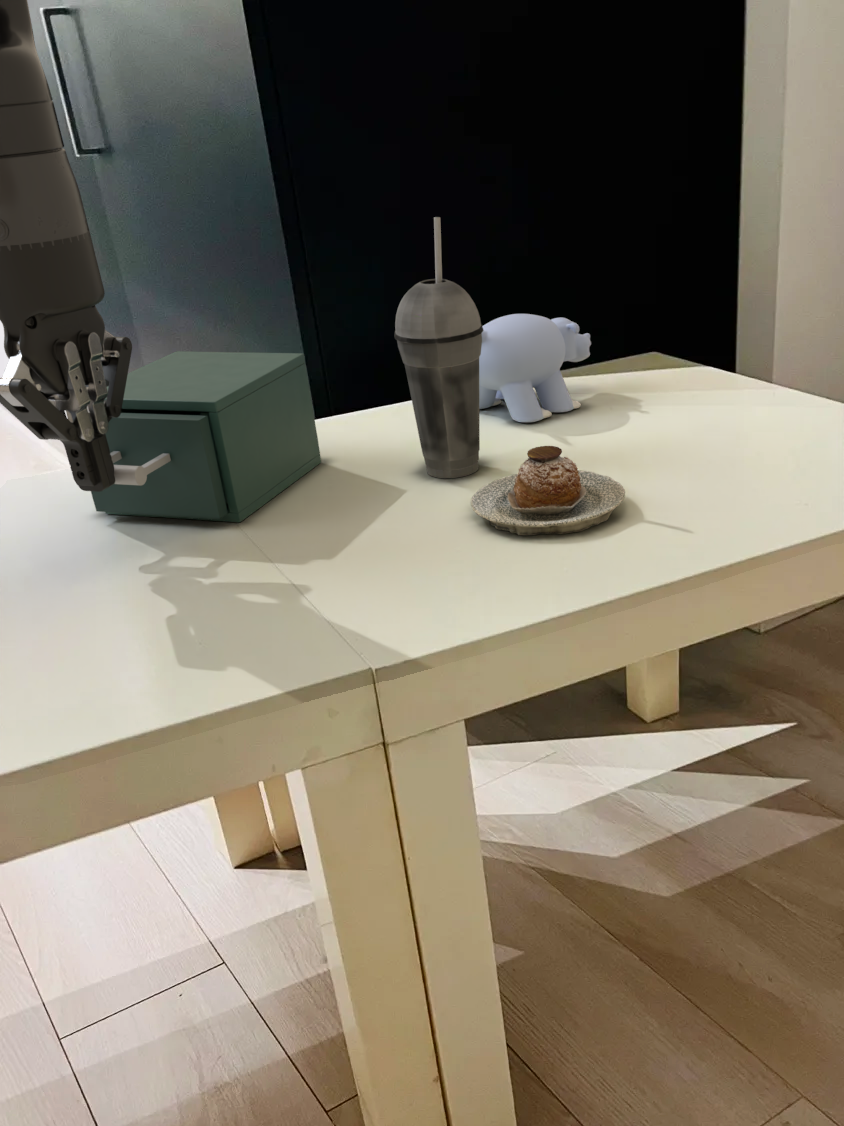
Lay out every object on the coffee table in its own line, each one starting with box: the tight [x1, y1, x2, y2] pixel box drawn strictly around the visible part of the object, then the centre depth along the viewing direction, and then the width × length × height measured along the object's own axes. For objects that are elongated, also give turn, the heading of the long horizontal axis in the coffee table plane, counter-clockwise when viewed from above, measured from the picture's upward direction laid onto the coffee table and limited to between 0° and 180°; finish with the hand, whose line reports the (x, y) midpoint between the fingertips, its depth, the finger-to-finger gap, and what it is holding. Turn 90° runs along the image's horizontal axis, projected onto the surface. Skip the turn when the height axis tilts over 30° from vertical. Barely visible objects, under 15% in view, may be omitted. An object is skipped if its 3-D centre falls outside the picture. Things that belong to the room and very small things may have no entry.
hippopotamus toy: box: [479, 313, 592, 423], centre depth 111 cm, size 11×15×10 cm
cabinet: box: [104, 351, 322, 523], centre depth 94 cm, size 15×13×10 cm
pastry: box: [470, 445, 626, 536], centre depth 87 cm, size 12×12×5 cm
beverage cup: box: [393, 216, 483, 479], centre depth 92 cm, size 7×7×20 cm
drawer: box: [90, 409, 228, 519], centre depth 91 cm, size 18×11×8 cm, turn 163°
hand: (97, 487), depth 82 cm, fingers closed
